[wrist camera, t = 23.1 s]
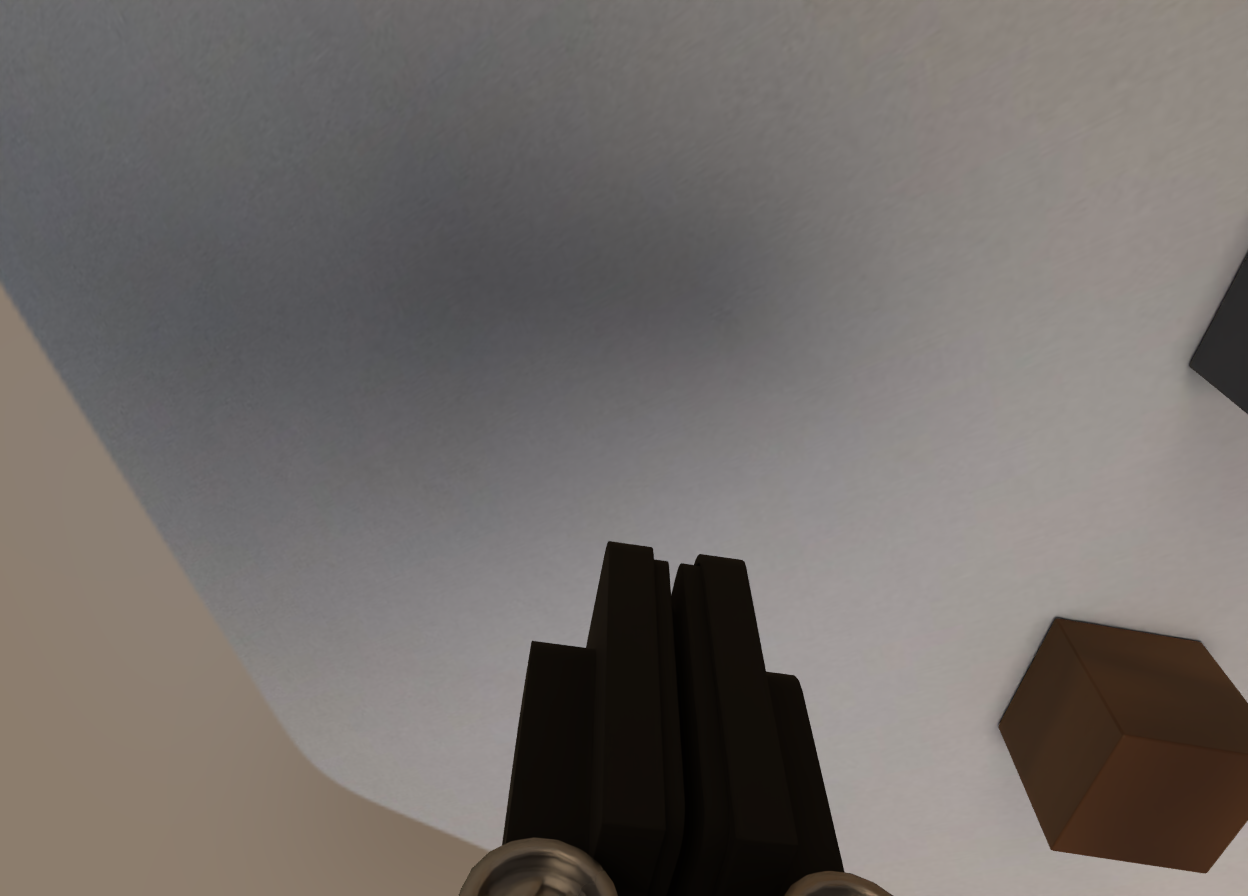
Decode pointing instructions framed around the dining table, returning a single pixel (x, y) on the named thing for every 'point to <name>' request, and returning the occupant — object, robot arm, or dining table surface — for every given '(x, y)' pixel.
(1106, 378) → the dining table surface
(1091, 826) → the walnut block
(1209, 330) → the slate block
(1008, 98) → the dining table surface
